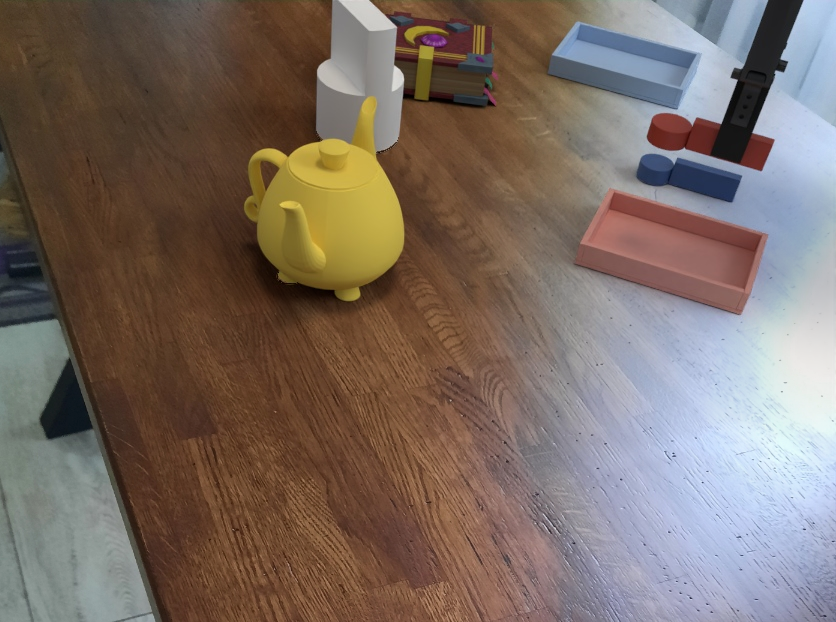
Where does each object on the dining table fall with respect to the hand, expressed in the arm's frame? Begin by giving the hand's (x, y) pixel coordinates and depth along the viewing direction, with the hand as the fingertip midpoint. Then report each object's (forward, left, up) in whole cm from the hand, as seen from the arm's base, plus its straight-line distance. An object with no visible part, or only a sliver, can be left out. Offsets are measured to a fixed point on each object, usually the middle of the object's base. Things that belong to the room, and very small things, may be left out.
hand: (727, 152), depth 82 cm
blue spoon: (+3, -14, -11) cm, 18 cm away
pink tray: (+2, +1, -11) cm, 11 cm away
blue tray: (+16, -36, -11) cm, 41 cm away
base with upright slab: (+38, -5, -11) cm, 40 cm away
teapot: (+31, +19, -11) cm, 37 cm away
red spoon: (+2, 0, 0) cm, 2 cm away
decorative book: (+36, -21, -11) cm, 43 cm away
